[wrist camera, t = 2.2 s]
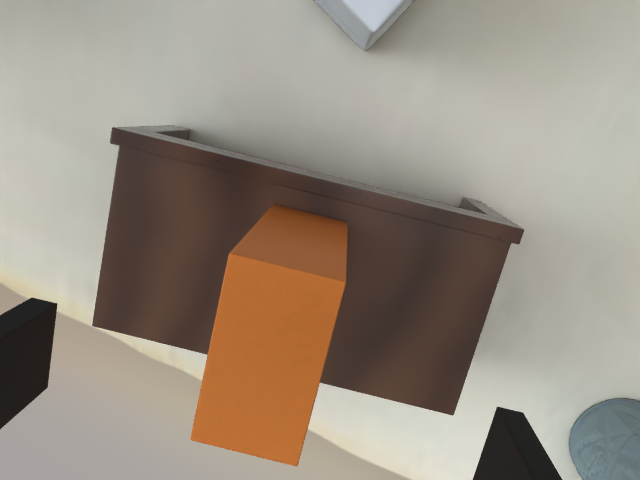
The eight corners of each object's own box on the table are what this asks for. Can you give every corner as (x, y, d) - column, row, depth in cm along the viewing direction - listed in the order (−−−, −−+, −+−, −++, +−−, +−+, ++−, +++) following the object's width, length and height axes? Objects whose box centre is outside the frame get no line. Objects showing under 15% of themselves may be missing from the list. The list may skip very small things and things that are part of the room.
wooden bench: (145, 283, 47) (81, 334, 36) (172, 124, 44) (111, 127, 33) (432, 354, 47) (457, 428, 36) (480, 201, 44) (524, 229, 33)
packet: (244, 329, 37) (189, 440, 24) (273, 204, 35) (228, 252, 22) (315, 347, 37) (297, 467, 24) (348, 222, 35) (346, 282, 22)
